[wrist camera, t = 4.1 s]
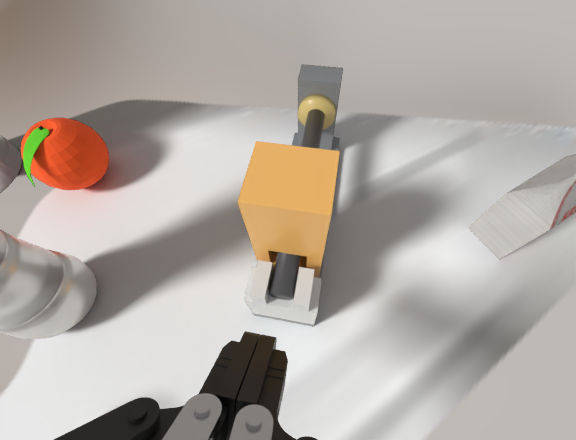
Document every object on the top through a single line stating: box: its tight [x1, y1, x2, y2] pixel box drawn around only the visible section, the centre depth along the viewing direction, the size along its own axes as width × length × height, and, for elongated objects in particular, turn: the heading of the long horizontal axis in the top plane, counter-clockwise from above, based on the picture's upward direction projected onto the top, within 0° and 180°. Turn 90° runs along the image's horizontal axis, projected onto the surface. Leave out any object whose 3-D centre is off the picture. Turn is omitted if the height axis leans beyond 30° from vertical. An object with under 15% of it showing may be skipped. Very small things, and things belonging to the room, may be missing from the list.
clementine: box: [21, 118, 109, 190], centre depth 29 cm, size 8×7×7 cm
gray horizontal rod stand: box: [244, 65, 343, 326], centre depth 25 cm, size 20×5×9 cm, turn 170°
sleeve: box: [237, 141, 340, 277], centre depth 19 cm, size 4×5×10 cm
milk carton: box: [468, 154, 576, 260], centre depth 23 cm, size 4×7×10 cm, turn 120°
